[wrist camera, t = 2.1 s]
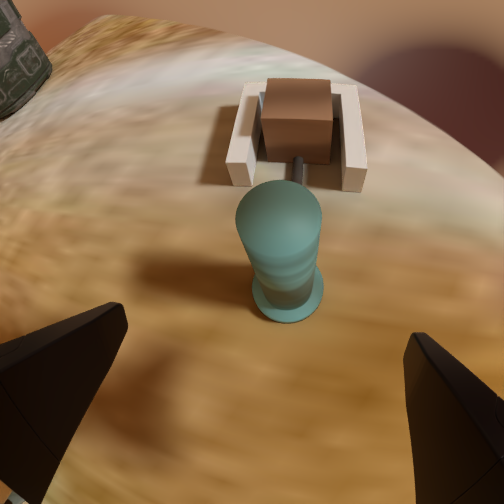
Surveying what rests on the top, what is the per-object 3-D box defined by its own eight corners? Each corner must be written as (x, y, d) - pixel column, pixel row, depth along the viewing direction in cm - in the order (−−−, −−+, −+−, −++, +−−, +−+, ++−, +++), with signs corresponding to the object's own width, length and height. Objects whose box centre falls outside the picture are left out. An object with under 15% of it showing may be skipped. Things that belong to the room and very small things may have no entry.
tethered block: (323, 326, 19) (344, 280, 10) (246, 319, 20) (201, 269, 11) (328, 122, 26) (331, 27, 17) (273, 120, 27) (259, 27, 18)
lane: (361, 192, 23) (367, 168, 20) (233, 185, 24) (225, 162, 22) (353, 109, 26) (356, 85, 23) (250, 105, 28) (245, 82, 25)
